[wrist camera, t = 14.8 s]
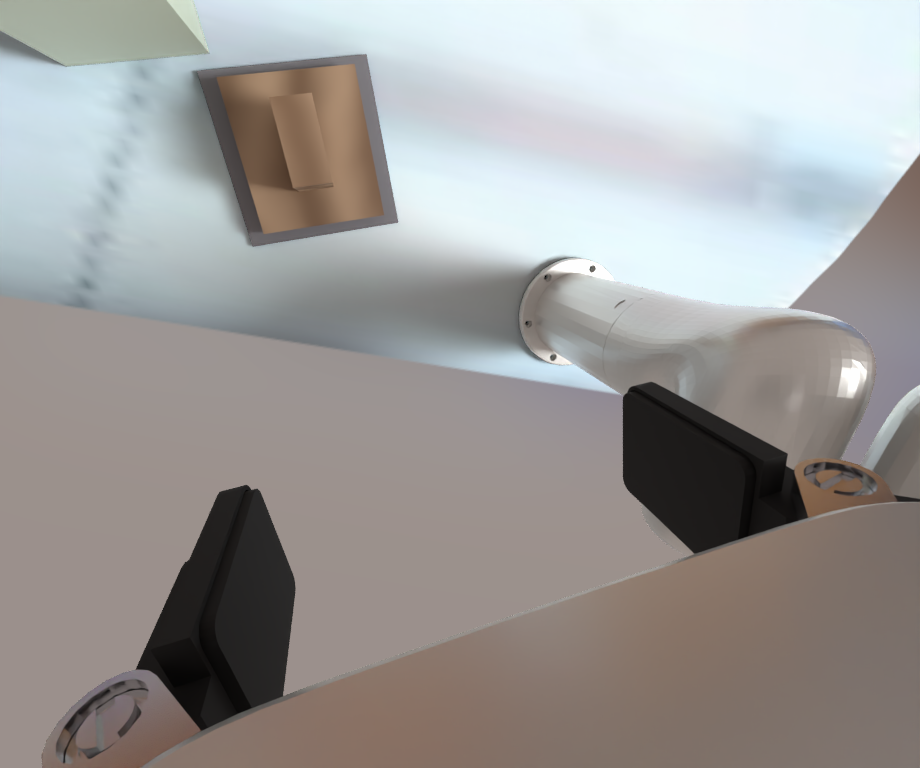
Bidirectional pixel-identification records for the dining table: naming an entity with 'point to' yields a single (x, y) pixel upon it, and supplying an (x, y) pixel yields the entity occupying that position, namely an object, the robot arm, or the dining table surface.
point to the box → (104, 29)
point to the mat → (237, 169)
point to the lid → (303, 146)
